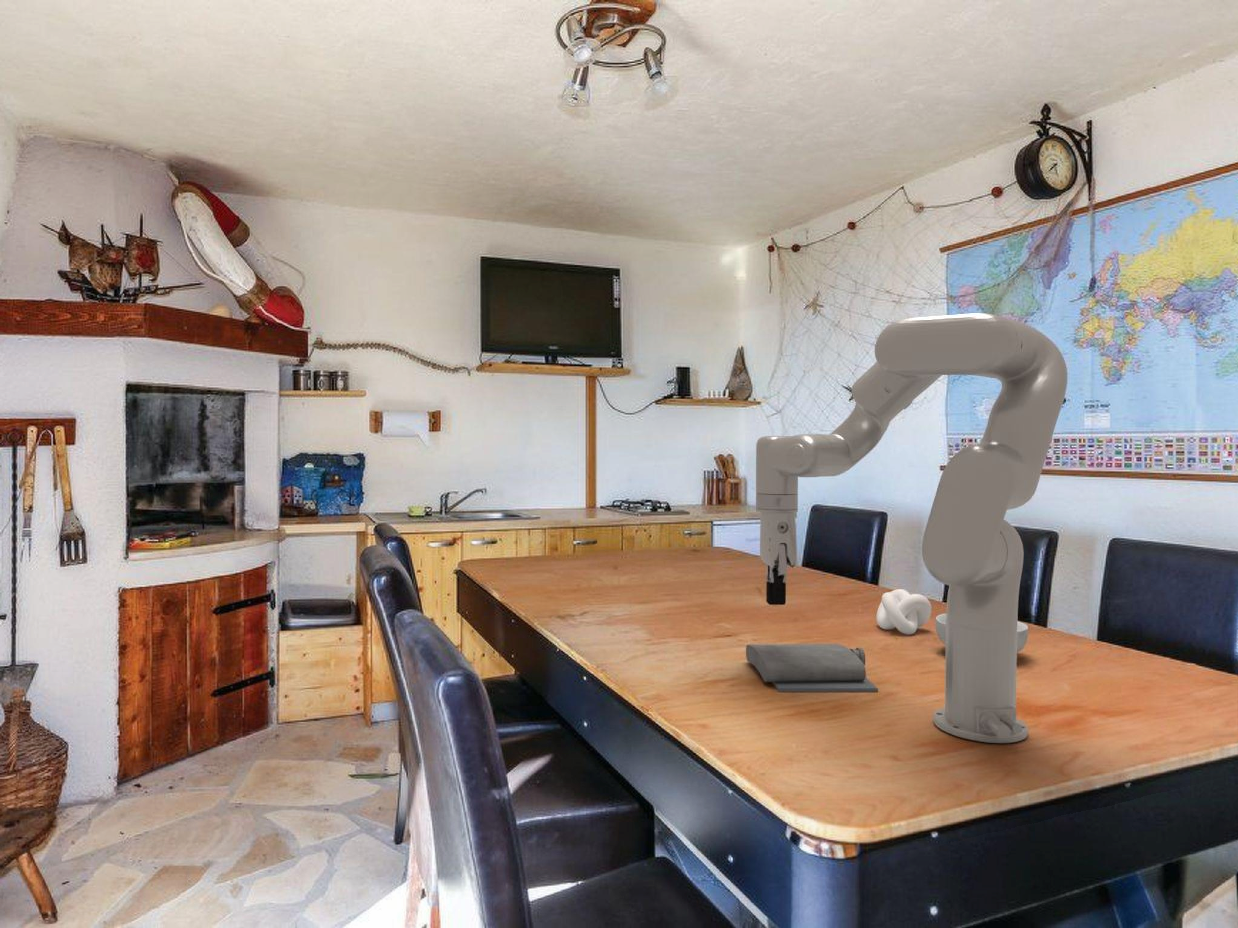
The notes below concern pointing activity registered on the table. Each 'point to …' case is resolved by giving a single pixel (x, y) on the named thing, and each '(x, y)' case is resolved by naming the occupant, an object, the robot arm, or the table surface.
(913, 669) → the table surface
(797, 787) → the table surface
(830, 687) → the mat
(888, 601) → the white decorative knot
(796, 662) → the hip flask
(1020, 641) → the cereal bowl
